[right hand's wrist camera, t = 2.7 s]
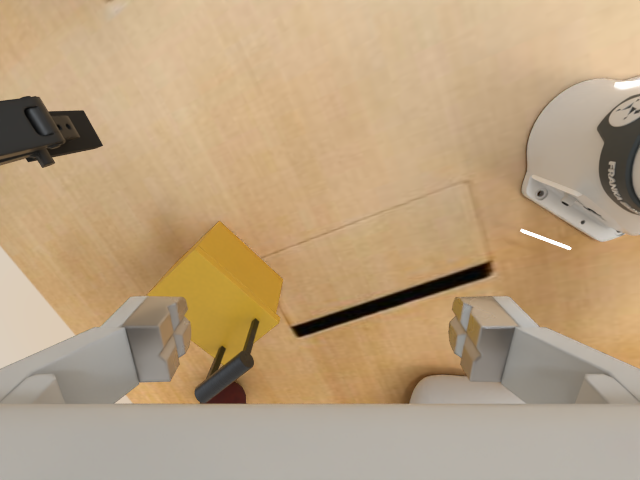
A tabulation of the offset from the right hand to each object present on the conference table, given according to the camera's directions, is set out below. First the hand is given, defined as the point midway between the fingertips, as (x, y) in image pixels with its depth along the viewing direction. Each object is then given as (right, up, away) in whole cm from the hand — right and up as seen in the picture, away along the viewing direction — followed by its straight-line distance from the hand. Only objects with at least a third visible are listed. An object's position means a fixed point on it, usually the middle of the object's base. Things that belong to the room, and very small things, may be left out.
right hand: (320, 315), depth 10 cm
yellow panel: (-13, -6, +32) cm, 35 cm away
